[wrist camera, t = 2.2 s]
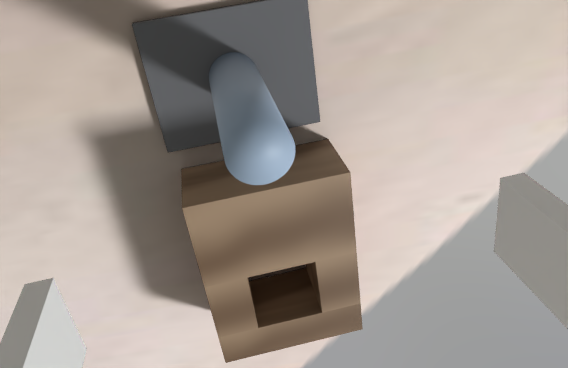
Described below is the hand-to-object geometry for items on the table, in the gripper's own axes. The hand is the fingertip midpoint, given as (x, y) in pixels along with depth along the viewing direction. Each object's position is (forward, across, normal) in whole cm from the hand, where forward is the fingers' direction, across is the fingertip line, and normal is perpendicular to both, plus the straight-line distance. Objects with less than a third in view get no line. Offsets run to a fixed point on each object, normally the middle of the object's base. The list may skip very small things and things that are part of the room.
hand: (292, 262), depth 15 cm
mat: (+18, 0, 0) cm, 19 cm away
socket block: (+19, +1, -12) cm, 22 cm away
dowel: (+18, 0, 0) cm, 18 cm away
